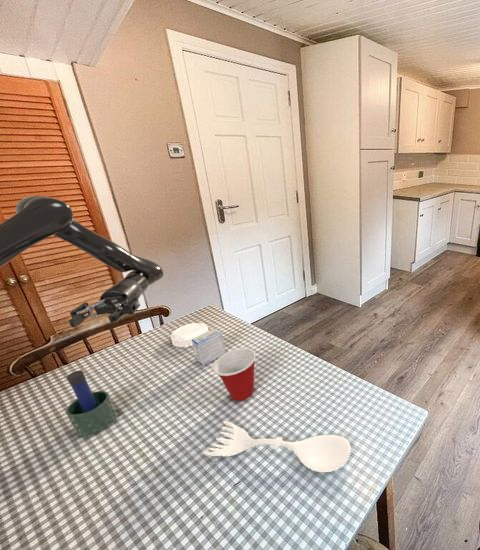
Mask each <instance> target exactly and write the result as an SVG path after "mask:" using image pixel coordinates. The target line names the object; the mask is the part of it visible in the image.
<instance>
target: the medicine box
mask: <svg viewBox="0 0 480 550" xmlns="http://www.w3.org/2000/svg"><path fill="white" fill-rule="evenodd" d="M192 344H193V346H192V347H193V351H194V354H195V359H196V361H197V362H199V363H200V364H201V365H202V366H205V365H207V364H209V363H211V362H213V361H216V360H217V359H218V358H219V357H220V356H222V355H224V354H225V353H227V351H226V347H225V341H224V337H223V333H222V331H219V330H218V329H216V328H213V329H210V330H209V331H208V332H206V333H204V334H202V335H199V336H197V337H195V338H193V339H192Z"/></svg>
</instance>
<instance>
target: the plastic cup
mask: <svg viewBox="0 0 480 550" xmlns="http://www.w3.org/2000/svg"><path fill="white" fill-rule="evenodd" d="M256 356H257V354H256V352H255V351H254V350H253V349H251V348H249V347H240V348H235V349H231V350H230V351H226V353H225V354H224V355H222V356H220V357H218V358H216V359H215V360H214V363H213V365H212V369H213V372H214V374H216V375H218V376H219V379H221V381H222V383H223V385H224V386H225V389H226V390H227V392H228V394H229V396H230V399H232V400H234V401H236V402H241V401H245V400H247V399H249V398H250V397H252V395H253V393H254V387H255V366H256V365H255V360H256Z"/></svg>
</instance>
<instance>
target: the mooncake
mask: <svg viewBox="0 0 480 550" xmlns="http://www.w3.org/2000/svg"><path fill="white" fill-rule="evenodd" d="M208 331H210V330H209V327H208V325H207V324H205V323H201V322H192V323H187V324H185V325H184V324H183V325H181V326H180V327H177V328H176V329H175V330H173V331H172V332H171V334H170V336H169V337H170V340H171V343H172V346H175V348H180V349H182V348H189V347H193V344H192V339H193V338H195V337H197V336H199V335H202V334H204V333H206V332H208Z"/></svg>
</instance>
